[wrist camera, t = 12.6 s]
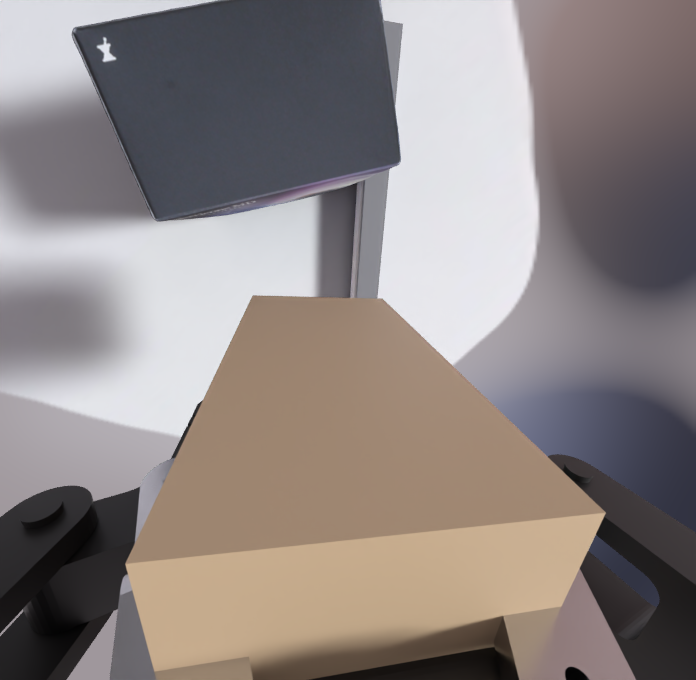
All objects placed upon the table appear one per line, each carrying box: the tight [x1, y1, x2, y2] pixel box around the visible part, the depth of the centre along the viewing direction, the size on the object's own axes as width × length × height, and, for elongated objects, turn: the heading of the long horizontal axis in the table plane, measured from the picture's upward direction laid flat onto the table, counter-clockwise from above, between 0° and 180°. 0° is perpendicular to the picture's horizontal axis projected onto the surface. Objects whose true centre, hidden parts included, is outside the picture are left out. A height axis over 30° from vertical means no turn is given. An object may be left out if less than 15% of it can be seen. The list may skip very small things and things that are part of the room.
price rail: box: [350, 21, 403, 299], centre depth 23 cm, size 22×2×2 cm, turn 177°
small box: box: [72, 0, 401, 221], centre depth 16 cm, size 11×6×10 cm, turn 103°
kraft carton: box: [125, 296, 606, 680], centre depth 8 cm, size 5×6×9 cm
